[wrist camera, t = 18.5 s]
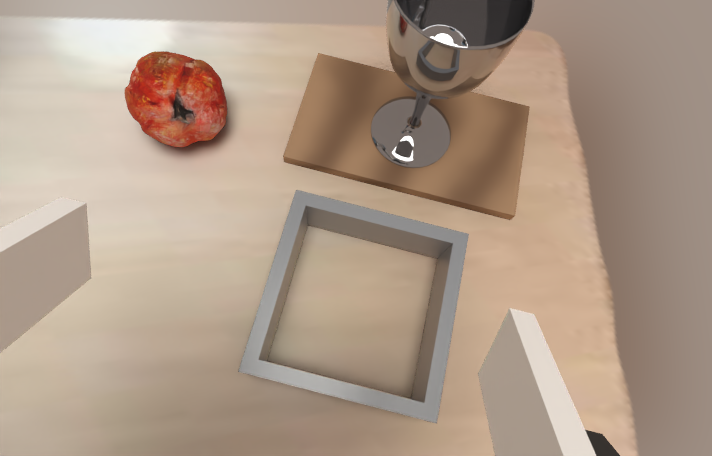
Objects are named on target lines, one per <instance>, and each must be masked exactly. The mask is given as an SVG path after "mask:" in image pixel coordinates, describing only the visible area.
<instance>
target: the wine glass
mask: <svg viewBox="0 0 712 456" xmlns="http://www.w3.org/2000/svg"><path fill="white" fill-rule="evenodd" d="M533 7H534V0H388V6H387V17H386V37H387V45H388V52H389V57H390V60H391V63H392V66H393V69H394V71H395V72H396V74H397V76H398V77H399V78H400V79H401V81H402V82H403V83H404V84H405V85H406V86H407V87H409V88H410V89H411V90H413V91H414V92H416V97H411V96H405V97H398V98H395V99H392V100H389V101H388V102H386V103H384V104H383V105H382V106H381V107H380V108H379V109H378V110H377V111H376V113H375V115H374V117H373V119H372V122H371V137H372V140H373V143H374V145H375V147H376V148H377V150H378V151H379V152H380V153H381V154H382V155H383V156H384V157H385V158H386V159H387V160H389V161H390V162H392V163H394V164H397V165H399V166H402V167H407V168H421V167H426V166H429V165H431V164H434V163H435V162H437V161H438V160H439V159H441V158H442V157H443V156H444V154H445V153H446V151H447V150H448V147H449V145H450V141H451V130H450V125H449V123H448V120H447V118H446V117H445V115H444V114H443V113H442V111H441V110H440V109H439V108H438V107H436V106H435V105H434V104H432V103H431V102H430V100H431V99H432V98H433V99H450V98H455V97H459V96H462V95H464V94H466V93H468V92H470V91H471V90H473V89H475V88H476V87H478V86H479V85H480V84H481V83H482V82H483V81H484V80H486V79H487V78H488V77H489V76H490V75H491V74H492V73H493V72H494V71H495V70H496V69H497V67H498V66H499V65H500V64H501V63H502V62H503V60H504V59H505V58H506V56H507V55H508V54H509V52H510V51H511V49H512V48H513V46H514V45H515V43H516V42H517V40H518V39H519V37H520V35H521V34H522V32H523V30H524V28H525V27H526V25H527V23H528V21H529V19H530V16H531V14H532V12H533Z"/></svg>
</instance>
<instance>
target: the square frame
mask: <svg viewBox="0 0 712 456" xmlns="http://www.w3.org/2000/svg"><path fill="white" fill-rule="evenodd" d="M308 225H309V226H313V227H317V228H321V229H325V230H329V231H333V232H336V233H340V234H344V235H348V236H352V237H356V238H360V239H364V240H367V241H371V242H375V243H379V244H383V245H387V246H391V247H395V248H399V249H402V250H406V251H410V252H414V253H418V254H422V255H426V256H430V257H433V258H437V263H436V269H435V274H434V279H433V284H432V290H431V295H430V300H429V305H428V311H427V316H426V321H425V326H424V332H423V337H422V342H421V348H420V353H419V358H418V363H417V369H416V374H415V379H414V384H413V390H412V395H411V398H408V397H404V396H400V395H396V394H392V393H388V392H385V391H381V390H377V389H373V388H369V387H365V386H362V385H358V384H354V383H350V382H346V381H342V380H338V379H335V378H331V377H327V376H323V375H319V374H315V373H312V372H308V371H304V370H300V369H296V368H292V367H289V366H285V365H281V364H277V363H273V362H269V361H267V359H268V356H269V353H270V349H271V346H272V343H273V339H274V336H275V333H276V329H277V326H278V323H279V319H280V316H281V313H282V309H283V306H284V303H285V299H286V296H287V293H288V289H289V286H290V283H291V279H292V276H293V273H294V269H295V266H296V263H297V259H298V256H299V253H300V249H301V246H302V243H303V239H304V236H305V233H306V229H307V226H308ZM468 235H469V234H467V233H463V232H459V231H455V230H451V229H447V228H443V227H439V226H435V225H432V224H428V223H424V222H420V221H416V220H412V219H408V218H404V217H400V216H396V215H393V214H389V213H385V212H381V211H377V210H373V209H369V208H365V207H361V206H358V205H354V204H350V203H346V202H342V201H338V200H334V199H330V198H326V197H323V196H319V195H315V194H311V193H307V192H303V191H299V190H296V192H295V195H294V198H293V201H292V204H291V208H290V211H289V214H288V217H287V220H286V223H285V226H284V230H283V233H282V236H281V239H280V242H279V245H278V248H277V252H276V255H275V258H274V261H273V264H272V267H271V270H270V273H269V277H268V280H267V283H266V286H265V289H264V292H263V295H262V299H261V302H260V305H259V308H258V311H257V314H256V317H255V321H254V324H253V327H252V330H251V333H250V336H249V339H248V343H247V346H246V349H245V352H244V355H243V358H242V361H241V365H240V368H239V371H238V372H241V373H245V374H249V375H253V376H257V377H261V378H264V379H268V380H272V381H276V382H280V383H284V384H287V385H291V386H295V387H299V388H303V389H307V390H310V391H314V392H318V393H322V394H326V395H330V396H333V397H337V398H341V399H345V400H349V401H353V402H356V403H360V404H364V405H368V406H372V407H376V408H379V409H383V410H387V411H391V412H395V413H399V414H402V415H406V416H410V417H414V418H418V419H422V420H425V421H429V422H433V423H437V419H438V413H439V407H440V401H441V395H442V389H443V383H444V377H445V372H446V366H447V360H448V354H449V348H450V342H451V336H452V330H453V324H454V318H455V312H456V306H457V300H458V294H459V289H460V283H461V277H462V271H463V265H464V259H465V253H466V247H467V241H468Z"/></svg>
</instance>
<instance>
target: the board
mask: <svg viewBox="0 0 712 456" xmlns="http://www.w3.org/2000/svg"><path fill="white" fill-rule="evenodd" d="M405 96H411V97H416V92H414V91H413V90H411V89H410V88H409V87H407V86H406V85H405V84H404V83H403V82H402V81H401V79H400V78H399V77H398V76H397V74H396V73H395V72H391V71H387V70H383V69H379V68H375V67H371V66H367V65H363V64H359V63H356V62H352V61H348V60H344V59H340V58H336V57H332V56H328V55H324V54H320V53H318V56H317V58H316V61H315V64H314V67H313V70H312V73H311V76H310V79H309V82H308V85H307V88H306V91H305V94H304V97H303V100H302V103H301V106H300V109H299V112H298V115H297V118H296V121H295V123H294V126H293V129H292V132H291V135H290V138H289V141H288V144H287V147H286V150H285V153H284V156H283V157H284V162H287V163H291V164H295V165H299V166H303V167H307V168H310V169H314V170H318V171H322V172H326V173H330V174H334V175H338V176H342V177H346V178H349V179H353V180H357V181H361V182H365V183H369V184H373V185H377V186H381V187H384V188H388V189H392V190H396V191H400V192H404V193H408V194H412V195H416V196H420V197H423V198H427V199H431V200H435V201H439V202H443V203H447V204H451V205H455V206H459V207H462V208H466V209H470V210H474V211H478V212H482V213H486V214H490V215H494V216H498V217H501V218H505V219H509V220H510V219H512V218H513V217H514V216H515V212H516V205H517V197H518V190H519V182H520V175H521V167H522V160H523V152H524V145H525V137H526V130H527V122H528V115H529V106H525V105H521V104H517V103H513V102H509V101H505V100H501V99H497V98H493V97H489V96H485V95H481V94H477V93H474V92H468V93H466V94H464V95H462V96H459V97H455V98H450V99H433V98H432V99H431V100H430V102H431V103H432V104H434V105H435V106H436V107H438V108H439V109H440V110H441V111H442V113H443V114H444V115H445V117H446V118H447V120H448V123H449V125H450V130H451V141H450V145H449V147H448V150H447V151H446V153H445V154H444V156H443V157H442V158H441V159H439V160H438V161H437V162H435V163H434V164H431V165H429V166H426V167H421V168H407V167H402V166H399V165H397V164H394V163H392V162H390V161H389V160H387V159H386V158H385V157H384V156H383V155H382V154H381V153H380V152H379V151H378V150H377V148H376V147H375V145H374V143H373V140H372V137H371V122H372V119H373V117H374V115H375V113H376V111H377V110H378V109H379V108H380V107H381V106H382V105H383V104H384V103H386V102H388V101H389V100H392V99H395V98H398V97H405Z"/></svg>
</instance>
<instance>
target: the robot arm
mask: <svg viewBox="0 0 712 456" xmlns="http://www.w3.org/2000/svg"><path fill="white" fill-rule="evenodd" d="M89 279H91V266H90V251H89V235H88V220H87V205H86V203H85V202H81V201H77V200H73V199H69V198H64V197H60V198H58V199H56V200H54V201H52V202H50V203H48V204H46V205H44V206H43V207H41V208H39V209H37V210H35V211H33V212H31V213H29V214H27V215H25V216H23V217H21V218H19V219H17V220H15V221H13V222H11V223H9V224H8V225H6V226H4V227H2V228H0V353H1V352H2V351H3V350H4V349H6V348H7V347H8V346H9V345H10V344H12V343H13V342H14V341H15V340H17V339H18V338H19V337H20V336H21V335H23V334H24V333H25V332H26V331H27V330H29V329H30V328H31V327H32V326H34V325H35V324H36V323H37V322H38V321H40V320H41V319H42V318H43V317H44V316H46V315H47V314H48V313H49V312H51V311H52V310H53V309H54V308H55V307H57V306H58V305H59V304H60V303H61V302H63V301H64V300H65V299H66V298H68V297H69V296H70V295H71V294H72V293H74V292H75V291H76V290H77V289H79V288H80V287H81V286H82V285H83V284H85V283H86V282H87V281H88V280H89ZM478 376H479V381H480V385H481V390H482V395H483V400H484V405H485V409H486V414H487V419H488V424H489V429H490V434H491V438H492V443H493V448H494V453H495V456H620V455H619V454H618V453H617V451H616V450H615V449H614V448H613V447H612V445H611V444H610V443H609V442H608V441H607V439H606V438H605V437H604V436H603V435H602V434H600V433H596V432H592V431H588V430H585V429H584V426H583V424H582V422H581V420H580V417H579V415H578V413H577V411H576V408H575V406H574V404H573V401H572V399H571V397H570V395H569V392H568V390H567V388H566V386H565V383H564V381H563V379H562V376H561V374H560V372H559V370H558V367H557V365H556V363H555V361H554V358H553V356H552V354H551V351H550V349H549V347H548V345H547V342H546V340H545V338H544V336H543V333H542V331H541V329H540V326H539V324H538V322H537V320H536V317H535V315H534V314H531V313H527V312H523V311H519V310H515V309H511V308H509V310H508V312H507V315H506V317H505V319H504V321H503V323H502V325H501V327H500V329H499V331H498V333H497V335H496V337H495V339H494V342H493V344H492V346H491V348H490V350H489V352H488V354H487V356H486V358H485V360H484V362H483V364H482V366H481V369H480V371H479V373H478Z"/></svg>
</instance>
